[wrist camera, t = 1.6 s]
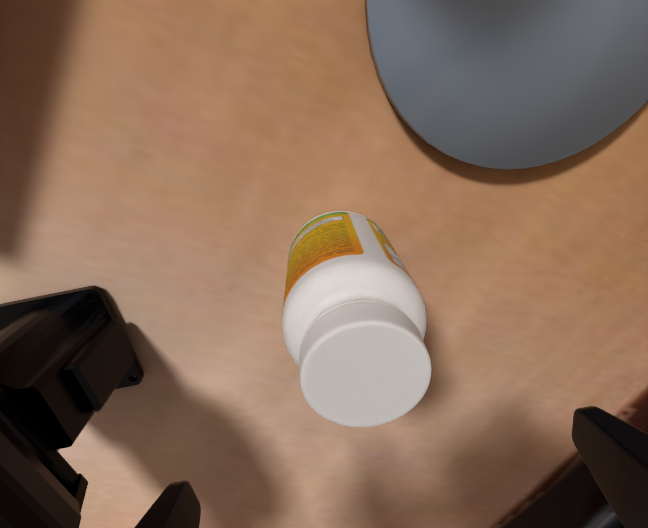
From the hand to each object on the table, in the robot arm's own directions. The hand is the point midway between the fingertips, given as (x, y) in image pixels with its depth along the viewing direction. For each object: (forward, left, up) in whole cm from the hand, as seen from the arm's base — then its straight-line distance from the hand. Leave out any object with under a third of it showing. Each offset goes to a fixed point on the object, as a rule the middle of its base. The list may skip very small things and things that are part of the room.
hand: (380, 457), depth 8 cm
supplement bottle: (0, 0, -13) cm, 13 cm away
